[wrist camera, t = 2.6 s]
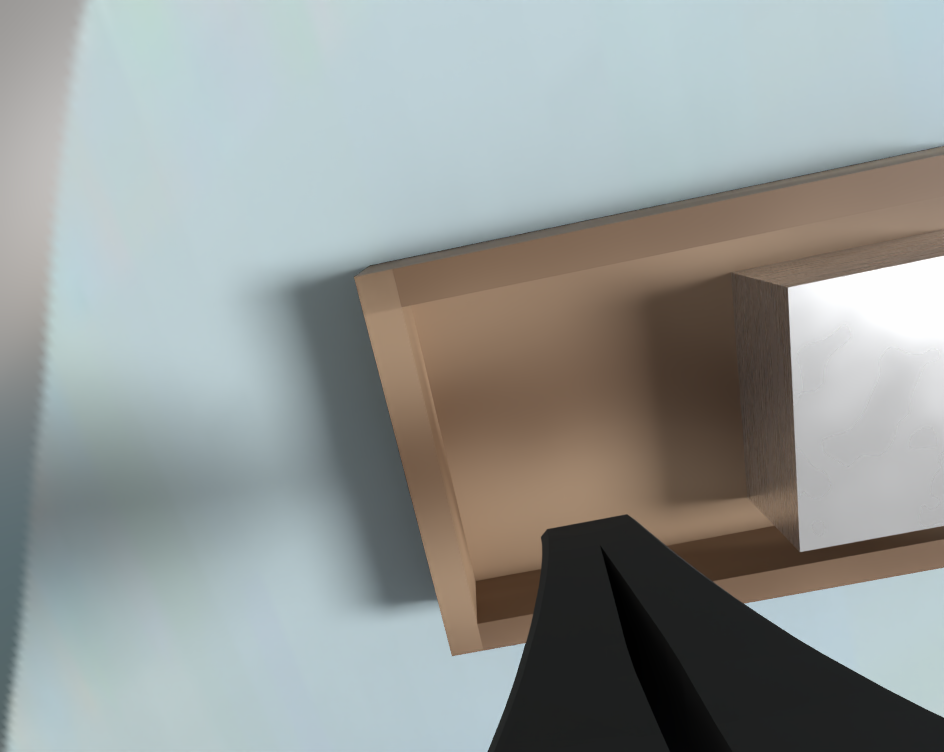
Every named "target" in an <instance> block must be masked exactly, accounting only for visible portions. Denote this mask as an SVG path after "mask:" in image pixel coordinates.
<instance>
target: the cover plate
mask: <svg viewBox="0 0 944 752" xmlns="http://www.w3.org/2000/svg"><path fill="white" fill-rule="evenodd" d="M731 281H732V295H733V309H734V322H735V336H736V349H737V363H738V377H739V390H740V404H741V417H742V431H743V445H744V458H745V472H746V486H747V498H748V499H749V500H750V501H751V502H752V503H753V504H754V505H755V506H756V507H757V508H758V509H759V510H760V511H761V512H762V513H763V514H764V515H765V516H766V517H767V518H768V519H769V520H770V522H771V523H772V524H773V525H774V526H775V527H776V528H777V529H778V530H779V531H780V532H781V533H782V534H783V535H784V536H785V537H786V538H787V539H788V540H789V541H790V542H791V543H792V544H793V545H794V546H795V547H796V548H797V549H798V551H799V552H803V551H809V550H814V549H820V548H825V547H831V546H836V545H842V544H847V543H853V542H858V541H864V540H869V539H874V538H880V537H885V536H891V535H896V534H902V533H907V532H913V531H918V530H924V529H929V528H935V527H940V526H944V229H942V230H937V231H932V232H927V233H922V234H917V235H913V236H908V237H903V238H898V239H893V240H888V241H883V242H878V243H873V244H868V245H863V246H858V247H853V248H848V249H843V250H838V251H834V252H829V253H824V254H819V255H814V256H809V257H804V258H799V259H794V260H789V261H784V262H779V263H774V264H769V265H764V266H759V267H755V268H750V269H745V270H740V271H735V272H731Z"/></svg>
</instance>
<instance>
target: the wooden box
mask: <svg viewBox="0 0 944 752" xmlns="http://www.w3.org/2000/svg"><path fill="white" fill-rule="evenodd" d="M942 229H944V146H942V147H938V148H933V149H928V150H923V151H918V152H913V153H909V154H904V155H899V156H894V157H889V158H885V159H880V160H875V161H870V162H865V163H861V164H856V165H851V166H846V167H841V168H837V169H832V170H827V171H822V172H817V173H813V174H808V175H803V176H798V177H793V178H789V179H784V180H779V181H774V182H769V183H765V184H760V185H755V186H750V187H745V188H740V189H736V190H731V191H726V192H721V193H716V194H712V195H707V196H702V197H697V198H692V199H688V200H683V201H678V202H673V203H668V204H664V205H659V206H654V207H649V208H644V209H640V210H635V211H630V212H625V213H620V214H616V215H611V216H606V217H601V218H596V219H591V220H587V221H582V222H577V223H572V224H567V225H563V226H558V227H553V228H548V229H543V230H539V231H534V232H529V233H524V234H519V235H515V236H510V237H505V238H500V239H495V240H491V241H486V242H481V243H476V244H471V245H467V246H462V247H457V248H452V249H447V250H443V251H438V252H433V253H428V254H423V255H418V256H414V257H409V258H404V259H399V260H394V261H390V262H385V263H380V264H375V265H370V266H369V267H367V268H366V269H365V270H363V271H362V272H360V273H359V274H358V275H356V276H355V277H354V279H355V283H356V287H357V291H358V295H359V299H360V302H361V306H362V310H363V314H364V318H365V322H366V326H367V329H368V333H369V337H370V341H371V345H372V349H373V353H374V356H375V360H376V364H377V368H378V372H379V376H380V380H381V383H382V387H383V391H384V395H385V399H386V403H387V407H388V410H389V414H390V418H391V422H392V426H393V430H394V434H395V437H396V441H397V445H398V449H399V453H400V457H401V461H402V465H403V468H404V472H405V476H406V480H407V484H408V488H409V492H410V495H411V499H412V503H413V507H414V511H415V515H416V519H417V522H418V526H419V530H420V534H421V538H422V542H423V546H424V549H425V553H426V557H427V561H428V565H429V569H430V573H431V576H432V580H433V584H434V588H435V592H436V596H437V600H438V603H439V607H440V611H441V615H442V619H443V623H444V627H445V630H446V634H447V638H448V642H449V646H450V650H451V654H452V656H455V655H461V654H466V653H472V652H477V651H483V650H488V649H494V648H500V647H505V646H511V645H516V644H522V643H526V641H527V637H528V634H529V630H530V626H531V622H532V617H533V612H534V607H535V602H536V598H537V593H538V588H539V581H540V573H541V565H542V542H541V536H542V535H543V534H544V532H545V531H546V530H547V529H550V528H556V527H561V526H566V525H572V524H577V523H582V522H588V521H593V520H599V519H604V518H609V517H615V516H620V515H625V514H628V515H629V516H631V517H632V518H633V519H635V520H636V521H637V522H638V523H640V524H641V525H642V526H643V527H644V528H646V529H647V530H648V531H649V532H650V533H652V534H653V535H654V536H655V537H656V538H658V539H659V540H660V541H661V542H662V543H664V544H665V545H666V546H667V547H669V548H670V549H671V550H672V551H674V552H675V553H676V554H677V555H679V556H680V557H681V558H682V559H684V560H685V561H686V562H688V563H689V564H690V565H691V566H693V567H694V568H695V569H697V570H698V571H699V572H701V573H702V574H703V575H705V576H706V577H707V578H709V579H710V580H712V581H713V582H714V583H716V584H717V585H718V586H720V587H721V588H723V589H724V590H725V591H727V592H728V593H729V594H731V595H732V596H733V597H735V598H736V599H738V600H739V601H741V602H742V603H749V602H755V601H761V600H766V599H772V598H777V597H783V596H788V595H794V594H799V593H805V592H811V591H816V590H822V589H827V588H833V587H838V586H844V585H849V584H855V583H860V582H866V581H872V580H877V579H883V578H888V577H894V576H899V575H905V574H910V573H916V572H922V571H927V570H933V569H938V568H944V526H940V527H935V528H929V529H924V530H918V531H913V532H907V533H902V534H896V535H891V536H885V537H880V538H874V539H869V540H864V541H858V542H853V543H847V544H842V545H836V546H831V547H825V548H820V549H814V550H809V551H803V552H799V551H798V549H797V548H796V547H795V546H794V545H793V544H792V543H791V542H790V541H789V540H788V539H787V538H786V537H785V536H784V535H783V534H782V533H781V532H780V531H779V530H778V529H777V528H776V527H775V526H774V525H773V524H772V523H771V522H770V520H769V519H768V518H767V517H766V516H765V515H764V514H763V513H762V512H761V511H760V510H759V509H758V508H757V507H756V506H755V505H754V504H753V503H752V502H751V501H750V500H749V499H748V498H747V486H746V472H745V458H744V445H743V431H742V417H741V404H740V390H739V377H738V363H737V349H736V336H735V322H734V309H733V295H732V281H731V272H735V271H740V270H745V269H750V268H755V267H759V266H764V265H769V264H774V263H779V262H784V261H789V260H794V259H799V258H804V257H809V256H814V255H819V254H824V253H829V252H834V251H838V250H843V249H848V248H853V247H858V246H863V245H868V244H873V243H878V242H883V241H888V240H893V239H898V238H903V237H908V236H913V235H917V234H922V233H927V232H932V231H937V230H942Z"/></svg>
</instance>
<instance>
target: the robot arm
mask: <svg viewBox="0 0 944 752" xmlns="http://www.w3.org/2000/svg"><path fill="white" fill-rule="evenodd" d="M541 542H542V565H541V573H540V581H539V588H538V593H537V598H536V602H535V607H534V612H533V617H532V622H531V626H530V630H529V634H528V637H527V641H526V644H525V647H524V651H523V654H522V658H521V661H520V664H519V668H518V671H517V675H516V678H515V681H514V684H513V687H512V690H511V693H510V695H509V698H508V701H507V704H506V707H505V709H504V712H503V715H502V717H501V720H500V722H499V725H498V727H497V730H496V732H495V735H494V737H493V740H492V742H491V745H490V747H489V750H488V752H944V718H943V717H941V716H939V715H937V714H935V713H933V712H931V711H928V710H926V709H924V708H923V707H921V706H919V705H917V704H915V703H913V702H911V701H909V700H907V699H905V698H903V697H901V696H899V695H897V694H895V693H893V692H891V691H889V690H887V689H885V688H883V687H882V686H880V685H878V684H876V683H874V682H873V681H871V680H869V679H867V678H865V677H864V676H862V675H860V674H858V673H856V672H855V671H853V670H851V669H849V668H847V667H845V666H844V665H842V664H840V663H838V662H836V661H835V660H833V659H831V658H829V657H827V656H826V655H824V654H822V653H820V652H819V651H817V650H815V649H814V648H812V647H810V646H809V645H807V644H805V643H803V642H802V641H800V640H798V639H797V638H795V637H794V636H792V635H790V634H789V633H787V632H786V631H784V630H783V629H781V628H780V627H778V626H777V625H775V624H773V623H772V622H770V621H769V620H767V619H766V618H764V617H763V616H761V615H760V614H758V613H757V612H755V611H754V610H752V609H751V608H749V607H748V606H746V605H745V604H744V603H742V602H741V601H739V600H738V599H736V598H735V597H733V596H732V595H731V594H729V593H728V592H727V591H725V590H724V589H723V588H721V587H720V586H718V585H717V584H716V583H714V582H713V581H712V580H710V579H709V578H707V577H706V576H705V575H703V574H702V573H701V572H699V571H698V570H697V569H695V568H694V567H693V566H691V565H690V564H689V563H688V562H686V561H685V560H684V559H682V558H681V557H680V556H679V555H677V554H676V553H675V552H674V551H672V550H671V549H670V548H669V547H667V546H666V545H665V544H664V543H662V542H661V541H660V540H659V539H658V538H656V537H655V536H654V535H653V534H652V533H650V532H649V531H648V530H647V529H646V528H644V527H643V526H642V525H641V524H640V523H638V522H637V521H636V520H635V519H633V518H632V517H631V516H629V515H628V514H625V515H620V516H615V517H609V518H604V519H599V520H593V521H588V522H582V523H577V524H572V525H566V526H561V527H556V528H550V529H547V530H546V531H545V532H544V534H543V535H542V536H541Z"/></svg>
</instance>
